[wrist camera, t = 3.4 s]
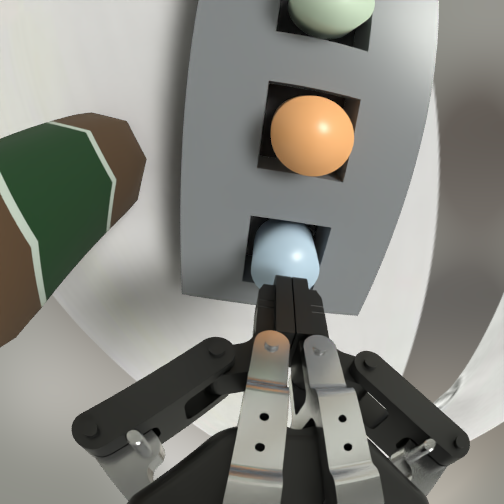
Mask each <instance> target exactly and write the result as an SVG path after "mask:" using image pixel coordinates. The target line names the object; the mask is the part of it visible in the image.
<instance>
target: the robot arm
mask: <svg viewBox="0 0 504 504" xmlns="http://www.w3.org/2000/svg"><path fill="white" fill-rule="evenodd" d="M288 367H291V375H290V378H289V381H288V383H289V387H287V379H288ZM243 391H244V394H243V399H242V405H241V410H240V415H239V419H238V424H237V427H232V428H228V429H225V430H223V431H220V432H218V433H216V434H215V435H213V436H212V437H210V438H209V439H208V440H207V441H205V442H204V443H203V444H202V445H201V446H199V447H198V448H197V449H196V450H194V451H193V452H192V453H191V454H189V455H188V456H187V457H186V458H184V459H183V460H182V461H180V462H179V463H178V464H177V465H175V466H174V467H173V468H171V469H170V470H169V471H167V472H166V473H164V474H163V475H162V476H160V477H159V478H157V479H156V480H155V481H154V480H153V475H154V472H155V470H156V468H157V467H158V466H159V465H160V464H161V463H162V462H163V460H164V458H165V451H164V448H163V446H162V444H163V443H164V442H165V441H167V440H168V439H170V438H171V437H173V436H174V435H175V434H177V433H178V432H180V431H181V430H183V429H184V428H186V427H187V426H188V425H190V424H191V423H193V422H194V421H195V420H197V419H198V418H199V417H201V416H202V415H203V414H205V413H206V412H207V411H209V410H210V409H211V408H213V407H214V406H215V405H216V404H218V403H219V402H220V401H222V400H223V399H224V398H225V397H227V396H228V394H231V393H237V392H243ZM367 392H369V393H370V394H371V395H372V396H373V397H374V398H375V399H376V400H377V401H378V402H379V403H380V404H381V405H382V406H384V407H385V408H386V409H387V410H386V409H385V408H383V407H382V406H381V405H380V404H379V403H378V402H377V401H376V400H375V399H374V398H373V397H372V396H371V395H370V394H368V393H367ZM289 394H290V403H291V413H292V422H291V427H290V428H289V427H287V419H288V407H289ZM72 435H73V437H74V439H75V441H76V442H77V443H78V444H79V445H80V446H82V447H83V448H84V449H85V450H86V451H87V452H88V453H89V454H90V455H92V456H93V457H94V458H96V460H97V461H98V462H99V464H100V465H101V467H102V468H103V470H104V471H105V472H106V474H107V475H108V476H109V478H110V479H111V480H112V482H113V483H114V484H115V485H116V487H117V488H118V489H119V490H120V492H121V493H122V494H123V495H124V496H125V498H126V499H127V500H128V503H127V504H429V502H428V500H427V497H426V496H427V495H428V493H429V492H430V491H431V489H432V488H433V486H434V485H435V484H436V482H437V481H438V479H439V478H440V476H441V475H442V473H443V472H444V470H445V469H446V467H447V466H448V465H450V464H452V463H454V462H455V461H457V460H459V459H460V458H462V457H464V456H465V455H466V454H467V452H468V450H469V446H470V441H469V437H468V435H467V434H466V433H465V432H464V431H463V430H462V429H461V428H460V427H459V426H458V425H456V424H455V423H454V422H453V421H452V420H451V419H450V418H449V417H448V416H446V415H445V414H444V413H443V412H442V411H441V410H440V409H439V408H437V407H436V406H435V405H434V404H433V403H432V402H430V400H428V399H427V398H426V397H425V396H424V395H423V394H422V393H420V392H419V391H418V390H417V389H416V388H415V387H414V386H412V385H411V384H410V383H409V382H408V381H407V380H406V379H405V378H403V377H402V376H401V375H400V374H399V373H398V372H397V371H396V370H394V369H393V368H392V367H391V366H390V365H389V364H388V363H386V362H385V361H384V360H383V359H382V358H381V357H380V356H378V355H377V354H375V353H373V352H370V351H362V352H360V353H358V354H357V355H356V357H355V356H352V355H349V354H346V353H343V352H341V351H339V350H338V349H336V346H335V344H334V343H333V341H332V340H330V339H329V336H328V330H327V324H326V318H325V314H324V308H323V302H322V298H321V296H320V295H319V294H318V292H317V291H316V290H309V287H308V281H307V279H306V278H298V277H290V276H282V275H275V279H274V283H273V285H268V284H263V285H262V287H261V288H260V289H259V292H258V297H257V303H256V309H255V315H254V327H253V337H252V339H250V340H249V341H247V342H245V343H241V344H234V345H232V343H231V342H229V341H228V340H226V339H224V338H220V337H211V338H207V339H205V340H203V341H202V342H200V343H199V344H197V345H196V346H194V347H193V348H191V349H189V350H188V351H186V352H185V353H183V354H182V355H180V356H178V357H177V358H175V359H174V360H172V361H170V362H169V363H167V364H166V365H164V366H162V367H161V368H159V369H157V370H156V371H154V372H152V373H151V374H149V375H148V376H146V377H144V378H143V379H141V380H139V381H138V382H136V383H134V384H132V385H131V386H129V387H127V388H126V389H124V390H122V391H121V392H119V393H117V394H115V395H114V396H112V397H110V398H108V399H107V400H105V401H103V402H101V403H100V404H98V405H96V406H94V407H92V408H90V409H89V410H87V411H85V412H83V413H81V414H80V415H79V416H77V417H76V418H75V420H74V421H73V424H72ZM366 435H367V436H368V437H369V438H370V439H371V440H372V441H373V442H374V443H375V444H376V445H377V446H378V447H379V448H381V449H382V450H383V451H384V452H385V453H386V454H387V455H388V456H389V457H390V458H391V459H390V460H389V459H388V458H387V457H386V456H385V455H384V454H383V453H382V452H381V451H380V450H379V449H378V448H377V447H376V446H375V445H374V444H373V443H372V442H371V441H370V440H369V439H368V438H367V437H366Z"/></svg>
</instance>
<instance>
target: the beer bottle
mask: <svg viewBox="0 0 504 504" xmlns="http://www.w3.org/2000/svg"><path fill="white" fill-rule="evenodd" d="M145 163H146V157H145V155H144V153H143V151H142V150H141V148H140V146H139V144H138V142H137V140H136V138H135V136H134V134H133V132H132V130H131V128H130V126H129V125H128V123H127V121H124V120H120V119H116V118H112V117H108V116H104V115H100V114H95V113H84V114H77V115H72V116H68V117H65V118H61V119H57V120H54V121H50V122H47V123H44V124H40V125H37V126H34V127H31V128H28V129H25V130H22V131H20V132H17V133H14V134H11V135H9V136H6V137H4V138H1V139H0V347H1V346H3V345H5V344H6V343H8V342H9V341H11V340H12V339H14V338H16V337H17V335H18V334H19V333H20V332H21V331H22V329H23V328H24V327H25V326H26V325H27V324H28V322H29V321H30V320H31V319H32V318H33V317H34V315H35V314H36V313H37V312H38V311H39V310H40V309H41V308H42V307H43V305H44V304H45V303H46V301H47V300H48V299H49V297H50V296H51V295H52V294H53V292H54V291H55V290H56V289H57V287H58V286H59V285H60V284H61V283H62V281H63V280H64V279H65V278H66V277H67V275H68V274H69V273H70V272H71V271H72V269H73V268H74V267H75V266H76V265H77V264H78V263H79V261H80V260H81V259H82V258H83V257H84V256H85V255H86V254H87V252H88V251H89V250H90V249H91V248H92V247H93V246H94V245H95V244H96V243H97V242H98V241H99V240H100V238H101V237H102V236H103V235H104V234H105V233H106V232H107V231H108V230H109V229H110V228H111V227H112V226H113V225H114V224H115V223H116V222H117V221H118V220H119V219H120V218H121V217H122V216H123V215H124V214H125V213H126V212H127V211H128V210H129V209H130V208H131V206H132V205H133V204H134V203H135V202H136V201H137V200H138V195H139V190H140V185H141V181H142V176H143V172H144V167H145Z"/></svg>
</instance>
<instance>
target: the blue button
mask: <svg viewBox="0 0 504 504" xmlns="http://www.w3.org/2000/svg"><path fill="white" fill-rule="evenodd" d="M319 269H320V268H319V262H318V258H317V253H316V249H315V245H314V241H313V237H312V233H311V231H310V229H309V228H308V227H307V225H306V224H305V223H299V222H292V221H286V220H279V219H272V218H271V219H269V220H267V221H266V222H264V223H263V224H262V225H261V226H260V227H259V229H258V230H257V232H256V235H255V239H254V247H253V256H252V264H251V275H252V279H253V281H254V283H255V284H256V285H257V287H258V288H259V289H260V288H261V287H262V285H263V284H268V285H273V283H274V279H275V275H282V276H290V277H298V278H306V279H307V281H308V287H309V289H310V288H311V287H312V286H313V285H314V284H315V282H316V280H317V278H318V276H319Z"/></svg>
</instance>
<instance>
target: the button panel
mask: <svg viewBox="0 0 504 504" xmlns="http://www.w3.org/2000/svg"><path fill="white" fill-rule="evenodd" d="M280 4H281V0H198V6H197V12H196V18H195V24H194V31H193V37H192V45H191V52H190V60H189V69H188V78H187V88H186V99H185V111H184V125H183V141H182V162H181V199H180V242H181V279H182V294H184V295H190V296H197V297H203V298H209V299H216V300H223V301H230V302H237V303H244V304H251V305H256V303H257V297H258V292H259V288H258V287H257V285H256V284H255V283H254V281H253V279H252V275H251V264H252V255H246V251H247V244H248V236H249V228H250V221H251V216H258V217H265V218H272V219H279V220H286V221H292V222H299V223H305V224H312V225H318V227H317V231H316V235H315V239H314V245H315V249H316V253H317V258H318V262H319V268H320V269H319V276H318V278H317V280H316V282H315V284H314V285H313V286H312V287H311V288H310V289H309V290H316V291H317V292H318V294H319V295H320V296H321V298H322V302H323V308H324V313H332V314H343V315H356V316H358V314H359V312H360V310H361V308H362V306H363V304H364V302H365V300H366V297H367V295H368V293H369V291H370V289H371V286H372V284H373V282H374V280H375V277H376V275H377V273H378V270H379V268H380V266H381V263H382V261H383V258H384V256H385V253H386V251H387V248H388V246H389V243H390V240H391V238H392V235H393V232H394V230H395V227H396V224H397V221H398V219H399V216H400V213H401V210H402V207H403V204H404V201H405V198H406V194H407V191H408V188H409V185H410V181H411V178H412V175H413V171H414V167H415V164H416V160H417V156H418V152H419V149H420V144H421V140H422V136H423V132H424V127H425V122H426V118H427V113H428V107H429V102H430V96H431V90H432V84H433V77H434V69H435V60H436V51H437V39H438V21H439V19H438V18H439V0H375V7H374V11H373V13H372V15H371V16H370V17H369V19H367V20H366V21H365V22H364V23H362V24H361V25H359V26H358V27H356V28H355V36H354V44H353V47H350V46H347V45H343V44H339V43H335V42H331V41H327V40H323V39H318V38H313V37H308V36H303V35H297V34H291V33H285V32H278V31H277V25H278V18H279V11H280ZM269 84H276V85H283V86H289V87H295V88H301V89H306V90H311V91H316V92H321V93H325V94H330V95H334V96H338V97H342V98H345V102H344V108H343V110H344V111H345V112H346V114H347V115H348V117H349V119H350V121H351V123H352V126H353V130H354V144H353V148H352V151H351V153H350V156H349V157H348V159H347V160H346V161H345V163H344V164H343V165H342V166H341V167H339V168H338V169H337V170H335V171H333V172H331V173H329V174H326V175H322V176H305V175H301V174H298V173H295V172H294V171H292V170H290V169H289V168H287V167H286V166H285V165H284V164H283V163H282V162H281V161H280V160H279V159H278V158H275V157H268V156H261V155H259V154H260V146H261V139H262V132H263V124H264V117H265V110H266V103H267V95H268V88H269Z"/></svg>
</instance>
